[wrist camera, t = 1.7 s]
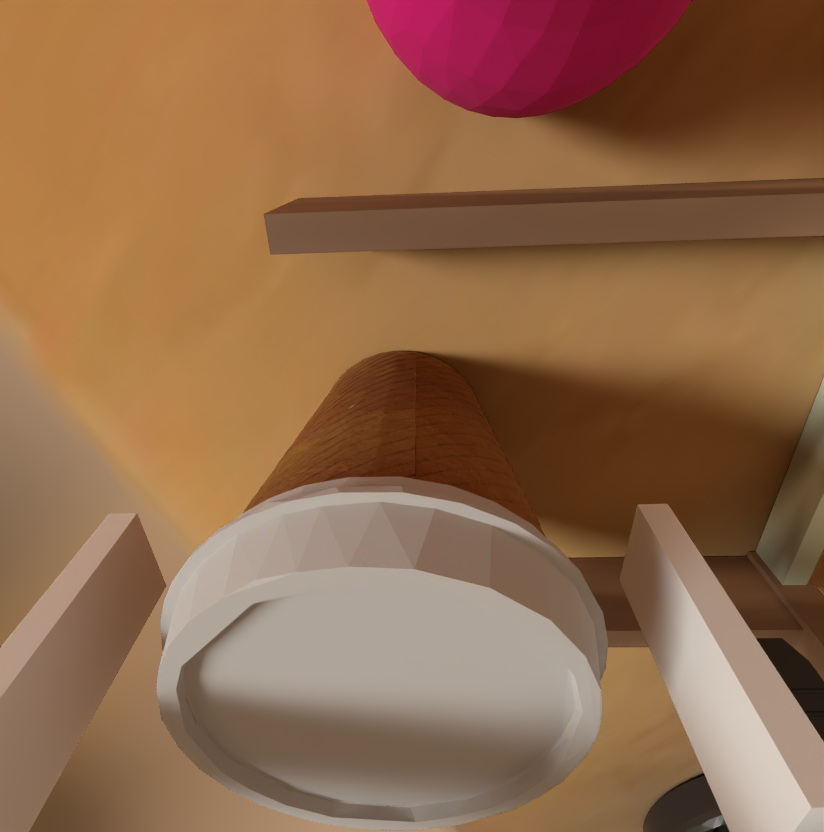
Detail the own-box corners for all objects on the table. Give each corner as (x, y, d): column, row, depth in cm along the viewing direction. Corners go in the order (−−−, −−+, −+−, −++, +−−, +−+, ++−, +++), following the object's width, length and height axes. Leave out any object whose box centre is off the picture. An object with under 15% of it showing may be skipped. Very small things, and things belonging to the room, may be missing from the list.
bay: (773, 576, 24) (872, 699, 19) (349, 580, 25) (329, 699, 19) (950, 162, 15) (1225, 173, 10) (297, 188, 16) (235, 211, 11)
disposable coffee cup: (491, 274, 17) (592, 480, 7) (540, 487, 22) (649, 813, 11) (244, 348, 19) (17, 609, 8) (336, 534, 23) (263, 859, 13)
